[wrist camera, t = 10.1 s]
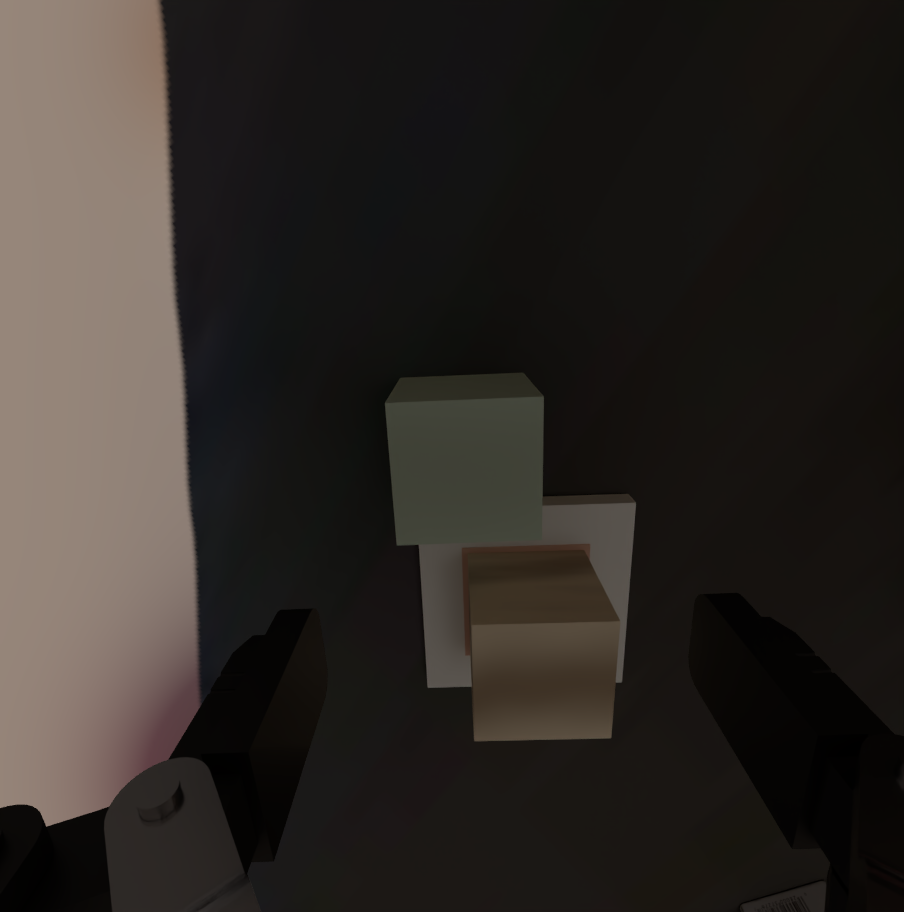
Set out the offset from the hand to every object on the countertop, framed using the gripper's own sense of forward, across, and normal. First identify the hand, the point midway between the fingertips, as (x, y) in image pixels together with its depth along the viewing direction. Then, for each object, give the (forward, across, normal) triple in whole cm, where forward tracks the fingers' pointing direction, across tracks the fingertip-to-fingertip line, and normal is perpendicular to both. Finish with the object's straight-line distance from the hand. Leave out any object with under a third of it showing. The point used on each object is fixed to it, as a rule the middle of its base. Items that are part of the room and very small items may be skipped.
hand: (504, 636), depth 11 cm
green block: (+16, +1, 0) cm, 16 cm away
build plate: (+16, -2, +9) cm, 18 cm away
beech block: (+14, -2, +9) cm, 17 cm away
